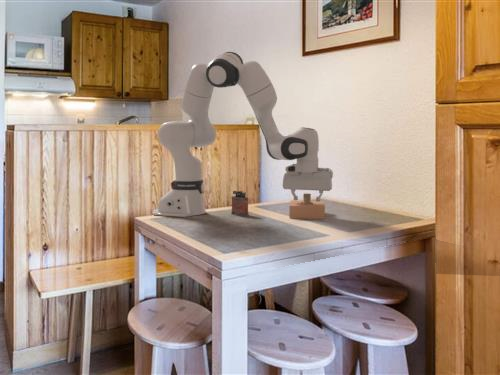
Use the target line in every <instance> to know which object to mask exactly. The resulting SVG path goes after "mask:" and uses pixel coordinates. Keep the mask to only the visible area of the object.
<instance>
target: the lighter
mask: <svg viewBox="0 0 500 375" xmlns="http://www.w3.org/2000/svg"><path fill="white" fill-rule="evenodd" d="M246 193H247V192H245V191H243V190H233V191H232V196H230V199H231V215H234V216H242V217H243V216H244V217H246V216H249V197H248V196H246V195H247V194H246Z"/></svg>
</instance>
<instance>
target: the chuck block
mask: <svg viewBox="0 0 500 375" xmlns="http://www.w3.org/2000/svg"><path fill="white" fill-rule="evenodd" d="M325 213H326V206H325V202H324V200H320V202H318V201H316V200H311V204H303V200H290V201H289V214H288V215H289V216H288V217H289V219H310V220H311V219H312V220H315V219H316V220H325V219H326V217H325V216H326V214H325Z"/></svg>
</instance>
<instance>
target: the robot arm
mask: <svg viewBox="0 0 500 375" xmlns="http://www.w3.org/2000/svg"><path fill="white" fill-rule="evenodd" d="M236 85H237V86H239V87H240V88H241V89H242V91H243V94H244V95H245V97H246V99H247V101H248V103H249V105H250V107H251V109H252V111H253V114H254V115H255V118H256V120H257V123H258V126H259V127H260V130H261V133H262V134H263V137H264V139H265V145H266V146H265V148H266V152H267V154H268V156H269V157H270V158H271V159H273V160H277V161H278V160H279V161H280V160H283V161H293V160H296V163H293V164H291V165H287V166H286V167H285V169H284V170H285V173H284V174H283V179H282V188H283V190H290V193H291V195H292V196H293V201H299V196H298V195H296V194H297V193H296V191H316V192H318V193H319V195H318V196H316V197H315V198H316V200H315V201H318V202H320V201H321V197H322V196H323V195H324V192H330V191H331V190H332V188H333V181H332V179H333V177H334V172H333V170H332V169H330V168H328V167H319V157H318V156H319V155H318V154H319V151H320V150H319V149H320V148H319V147H320V146H319V144H320V143H319V142H320V141H319V134H318V131H317V130H316V129H314V128H310V127H304V126H303V127H299V128H298V129H297V130H296V131H294V132H293V133H290V134H288V135H282V134H281V133H280V132H279V129H278V126H277V124H276V122H275V119H274V117H273V110H274V108H275V106H276V104H277V101H278V96H277V93H276V90H275V87H274V85H273V83H272V81H271V79H270V77H269V76H268V74H267V73H266V71H265V69H264V68H263V67H262V65H261V64H260V63H259V62H258V61H255V60H251V61H250V60H249V61H247V62H245V63H244V61H243V58H242V57H241V55H239V54H238V53H236V52H235V51H234V52H233V51H226V52H224V53H221V54H219V55H218V56H216V57H215V58H214V59H212V60H211V61H210V62H209V63H208V64H206V63H196V64H194V65H192V68H191V69H190V71H189V73H188V76H187V79H186V82H185V85H184V90H183V94H182V99H181V103H180V104H181V105H180V106H181V109H182V111H183V112H184V113H185V114H186V115H188V116H189V119H188V120H186V121H185V120H182V121H181V120H180V121H179V120H174V121H173V120H171V121H168V122H167V121H166V122H164V123H162V124H161V125H160V126H159V128H158V132H157V137H158V140H159V142H160V144H161V145H162V146H163V147H164V148H166V149H167V151H169V153H170V155H171V157H172V159H173V163H174V171H175V172H174V173H175V179H174V180H172V181H171V183H170V188H171V189H170V190H169V191H168V192H166V193H164V195H163V196H161V198H159V200H158V204H157V208H156V209H154V210H153V211H152V215H153V216H163V217H164V216H165V217H180V218H182V217H183V218H186V217H191V216H192V217H193V216H200V215H204V214H206V213H207V209H206V207H205V202H204V195H203V193H204V181H203V178H202V177H203V176H202V175H203V172H202V167H203V166H202V161H201V160H200V159H199V158H198V157H196V156H194V155H193V153H192V152H191V148H205V147H208V146H211V145H213V144H214V143H215V141H216V138H217V131H216V128H215V126H214V125H213V124H212V122H211V121H210V118H209V108H210V104H211V99H212V96H213V92H214V88H227V87H228V88H229V87H235V86H236Z"/></svg>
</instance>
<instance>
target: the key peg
mask: <svg viewBox="0 0 500 375" xmlns="http://www.w3.org/2000/svg"><path fill="white" fill-rule="evenodd" d="M302 197H303V199H302V201H303V204H311V201H312V194H311V193H303V196H302Z"/></svg>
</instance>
